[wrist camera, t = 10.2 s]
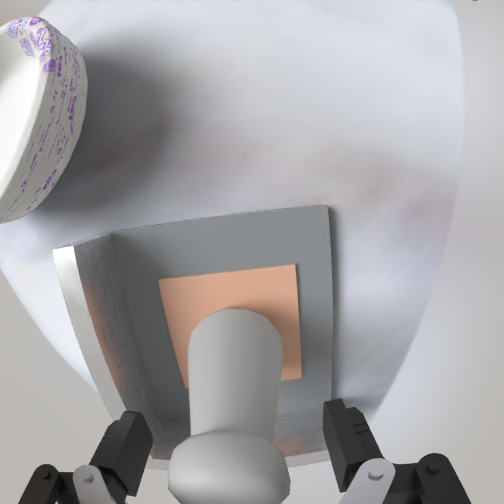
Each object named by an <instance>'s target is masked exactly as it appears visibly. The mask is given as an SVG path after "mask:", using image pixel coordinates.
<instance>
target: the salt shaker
mask: <svg viewBox="0 0 504 504" xmlns="http://www.w3.org/2000/svg"><path fill="white" fill-rule="evenodd" d="M283 356H284V352H283V347H282V342H281V337H280V335H279V333H278V332H277V330H276V329H275V328H274V327H273V325H272V324H271V323H270V321H269V320H268V319H267V318H266V317H264V316H262V315H260V314H258V313H255V312H253V311H251V310H249V309H243V308H233V307H227V308H224V309H221V310H219V311H216V312H214V313H211V314H209V315H206V316H205V318H204V319H203V320H202V321H201V322H200V323H199V324H198V325H197V326H196V328H195V329H194V330H193V331H192V333H191V337H190V342H189V347H188V377H189V403H190V421H191V436H190V437H189V438H187V439H186V440H184V441H183V442H181V443H180V444H179V445H177V447H176V448H175V449H174V450H173V453H172V457H171V460H170V463H169V471H168V490H169V491H170V492H171V493H172V494H173V496H174V497H175V498H176V499H177V500H178V501H179V502H180V503H181V504H281V503H282V502H283V501H284V500H285V499H286V498H287V496H288V495H289V492H290V477H289V473H288V469H287V464H286V460H285V456H284V454H283V453H282V451H281V450H280V449H279V448H278V447H276V446H275V445H274V444H272V441H273V434H274V427H275V420H276V413H277V405H278V398H279V390H280V382H281V374H282V365H283Z"/></svg>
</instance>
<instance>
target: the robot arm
mask: <svg viewBox="0 0 504 504" xmlns="http://www.w3.org/2000/svg"><path fill="white" fill-rule="evenodd" d="M323 434H324V438H325V442H326V445H327V449H328V452H329V455H330V459H331V462H332V466H333V470H334V473H335V477H336V480H337V484H338V487H339V491H340V493H341V492H346V493H345V495H344V496H343V498H342V499H341V501H340V503H339V504H471V502H470V500H469V498H468V496H467V494H466V492H465V490H464V488H463V486H462V484H461V482H460V480H459V478H458V476H457V475H456V472H455V470H454V469H453V467H452V465H451V463H450V461H449V459H448V458H447V457H446V456H444V455H442V454H439V453H432V454H428V455H426V456H424V457H423V458H421V459H420V461H419V462H418V463H411V464H394V463H391V462H390V461H388V460H386V459H385V458H384V457H383V456H382V454H381V452H380V449H379V447H378V445H377V443H376V441H375V439H374V436H373V434H372V432H371V431H370V428H369V426H368V424H367V422H366V419H365V417H364V415H363V413H361V412H360V411H359V410H358V409H356V408H355V407H352V408H348V409H346V408H345V405H344V403H343V401H342V399H341V398H340V399H336V400H331V401H326V402H324V404H323ZM152 445H153V436H152V433H151V431H150V429H149V427H148V425H147V423H146V421H145V418H144V416H143V414H142V413H141V412H135V411H124V412H123V414H122V416H121V418H120V420H115V421H114V422H113V423H112V424H111V425H109V426H108V428H107V430H106V432H105V434H104V436H103V438H102V440H101V442H100V444H99V446H98V447H97V449H96V451H95V453H94V456H93V458H92V459H91V461H90V463H89V465H83V466H80V467H79V468H77V469H76V470H75V471H74V472H59V471H58V470H57V469H56V468H55V467H54V466H52V465H50V464H43V465H41V466H39V467H38V468H37V469H36V470H35V471H34V473H33V475H32V477H31V479H30V481H29V483H28V485H27V487H26V489H25V491H24V493H23V495H22V497H21V499H20V501H19V503H18V504H55V503H56V502H57V503H58V504H128V503H127V502H126V501H125V499H126V496H127V495H129V496H135V497H136V494H137V491H138V488H139V485H140V481H141V478H142V475H143V472H144V469H145V466H146V463H147V460H148V457H149V454H150V451H151V448H152Z"/></svg>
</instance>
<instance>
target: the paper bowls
mask: <svg viewBox="0 0 504 504" xmlns="http://www.w3.org/2000/svg"><path fill="white" fill-rule="evenodd" d="M87 90H88V80H87V72H86V65H85V62H84V59H83V57H82V54H81V53H80V51H79V50H78V48H77V47H76V46H75V45H74V44H73V43H72V42H71V41H70V40H69V39H68V38H67V37H66V36H64V35H62V34H61V33H60V31H58V30H57V29H56V28H54V27H53V26H52V25H51V24H49V23H48V22H47V21H46V20H44V19H43V18H40V17H35V16H34V17H32V16H27V17H21V18H18V19H15V20H12V21H10V22H8V23H7V24H5V25H3V26H1V27H0V224H1V223H6V222H11V221H14V220H16V219H19V218H21V217H23V216H25V215H27V214H28V213H30V212H31V211H32V210H34V209H35V208H36V207H37V206H39V205H40V204H41V202H43V200H44V199H45V198H46V197H47V196H48V194H49V193H50V192H51V190H52V189H53V188H54V187H55V185H56V183H57V182H58V180H59V178H60V176H61V175H62V173H63V172H64V170H65V168H66V166H67V164H68V162H69V160H70V158H71V156H72V153H73V150H74V148H75V147H76V144H77V141H78V139H79V137H80V133H81V129H82V125H83V121H84V118H85V113H86V104H87V103H86V100H87Z"/></svg>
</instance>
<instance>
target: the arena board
mask: <svg viewBox="0 0 504 504" xmlns="http://www.w3.org/2000/svg"><path fill="white" fill-rule="evenodd" d="M108 233H112V234H113V240H114V245H115V251H116V256H117V261H118V266H119V271H120V275H121V280H122V284H123V289H124V293H125V297H126V301H127V305H128V309H129V313H130V316H131V320H132V324H133V327H134V331H135V334H136V337H137V341H138V344H139V347H140V350H141V354H142V357H143V360H144V363H145V366H146V369H147V372H148V374H149V377H150V380H151V383H152V386H153V388H154V391H155V394H156V396H157V399H158V401H159V404H160V406H161V409H162V411H163V414H164V416H165V418H168V419H190V403H189V377H188V347H189V342H190V337H191V333H192V331H193V330H194V329H195V328H196V326H197V325H198V324H199V323H200V322H201V321H202V320H203V319H204V318H205V316H206V315H209V314H211V313H214V312H216V311H219V310H221V309H224V308H227V307H233V308H243V309H249V310H251V311H253V312H255V313H258V314H260V315H262V316H264V317H266V318H267V319H268V320H269V321H270V323H271V324H272V325H273V327H274V328H275V329H276V330H277V332H278V333H279V335H280V337H281V342H282V347H283V352H284V356H283V365H282V374H281V382H280V390H279V398H278V405H277V413H276V414H278V413H285V412H293V411H299V410H305V409H311V408H317V407H322V406H323V404H324V402H326V401H331V391H332V366H333V288H332V262H331V243H330V228H329V215H328V205H315V206H304V207H294V208H284V209H275V210H265V211H256V212H248V213H239V214H231V215H223V216H215V217H207V218H200V219H193V220H185V221H178V222H171V223H165V224H158V225H151V226H145V227H138V228H132V229H126V230H120V231H114V232H108ZM108 233H102V234H108ZM102 234H98V235H102ZM95 236H96V235H95Z"/></svg>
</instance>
